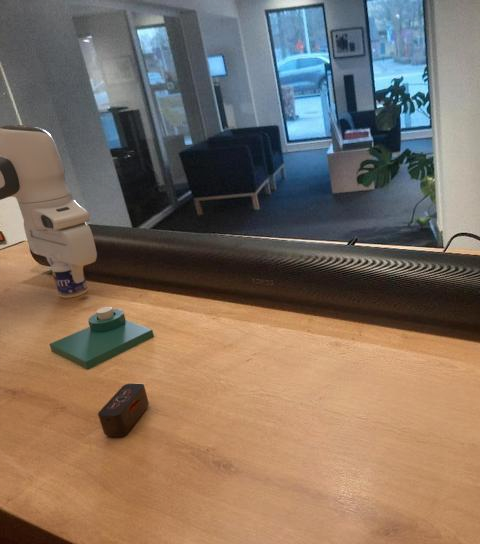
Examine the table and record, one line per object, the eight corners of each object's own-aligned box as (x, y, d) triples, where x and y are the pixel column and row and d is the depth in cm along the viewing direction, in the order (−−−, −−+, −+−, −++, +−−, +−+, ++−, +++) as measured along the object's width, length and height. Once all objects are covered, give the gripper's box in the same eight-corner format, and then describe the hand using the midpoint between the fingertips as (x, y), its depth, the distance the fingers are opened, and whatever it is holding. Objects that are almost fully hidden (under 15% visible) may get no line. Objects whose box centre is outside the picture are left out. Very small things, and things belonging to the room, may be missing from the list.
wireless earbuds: (154, 400, 64) (148, 379, 63) (125, 438, 57) (118, 415, 56) (120, 401, 64) (114, 379, 63) (87, 438, 58) (80, 415, 57)
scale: (50, 351, 78) (45, 334, 77) (116, 322, 87) (112, 306, 86) (88, 370, 72) (82, 352, 71) (155, 336, 81) (151, 320, 80)
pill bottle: (53, 297, 99) (40, 256, 96) (74, 287, 104) (62, 247, 101) (74, 299, 98) (61, 257, 95) (94, 288, 102) (82, 248, 99)
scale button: (95, 319, 82) (93, 311, 82) (109, 313, 84) (107, 305, 83) (103, 322, 81) (101, 313, 80) (117, 316, 83) (114, 308, 82)
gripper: (7, 211, 98) (29, 276, 103) (58, 222, 87) (80, 293, 92) (41, 204, 103) (60, 266, 108) (93, 213, 92) (112, 281, 97)
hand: (70, 279), depth 100 cm, fingers closed on pill bottle, 5 cm apart
